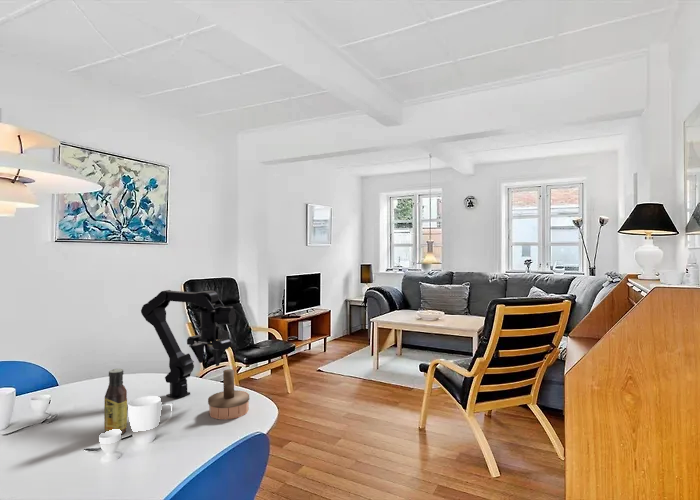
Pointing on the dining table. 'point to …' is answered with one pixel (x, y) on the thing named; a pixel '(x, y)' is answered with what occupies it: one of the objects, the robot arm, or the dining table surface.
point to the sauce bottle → (115, 402)
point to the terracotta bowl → (229, 411)
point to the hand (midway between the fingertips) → (209, 364)
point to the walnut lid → (228, 393)
